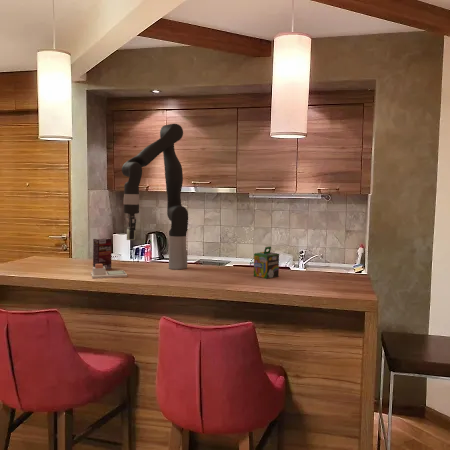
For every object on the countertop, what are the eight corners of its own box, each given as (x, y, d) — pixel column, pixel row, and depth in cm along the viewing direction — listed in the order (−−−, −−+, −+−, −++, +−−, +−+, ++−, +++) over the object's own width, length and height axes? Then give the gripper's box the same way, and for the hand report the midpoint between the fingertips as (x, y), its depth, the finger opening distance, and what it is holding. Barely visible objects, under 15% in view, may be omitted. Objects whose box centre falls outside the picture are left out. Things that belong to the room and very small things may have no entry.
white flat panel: (123, 272, 242) (123, 270, 242) (127, 276, 231) (127, 274, 231) (90, 273, 237) (90, 271, 237) (92, 278, 226) (92, 276, 226)
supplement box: (98, 270, 247) (98, 239, 245) (92, 269, 249) (92, 238, 248) (112, 268, 253) (112, 238, 252) (106, 267, 256) (106, 237, 255)
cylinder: (134, 239, 239) (134, 227, 238) (135, 240, 235) (135, 227, 234) (126, 239, 237) (126, 227, 237) (127, 240, 233) (127, 227, 233)
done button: (102, 268, 234) (102, 263, 234) (102, 269, 231) (102, 264, 231) (95, 268, 233) (95, 263, 233) (95, 269, 230) (95, 265, 230)
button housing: (104, 272, 236) (104, 266, 236) (105, 274, 231) (105, 268, 230) (92, 273, 234) (92, 266, 234) (93, 275, 229) (93, 268, 228)
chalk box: (265, 274, 244) (265, 244, 242) (279, 276, 237) (280, 246, 236) (252, 276, 237) (253, 246, 236) (267, 279, 231) (267, 248, 229)
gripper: (141, 204, 229) (141, 240, 231) (136, 203, 243) (136, 237, 244) (125, 204, 227) (125, 240, 228) (121, 202, 240) (121, 237, 241)
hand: (130, 238), depth 236 cm, fingers closed on cylinder, 4 cm apart
